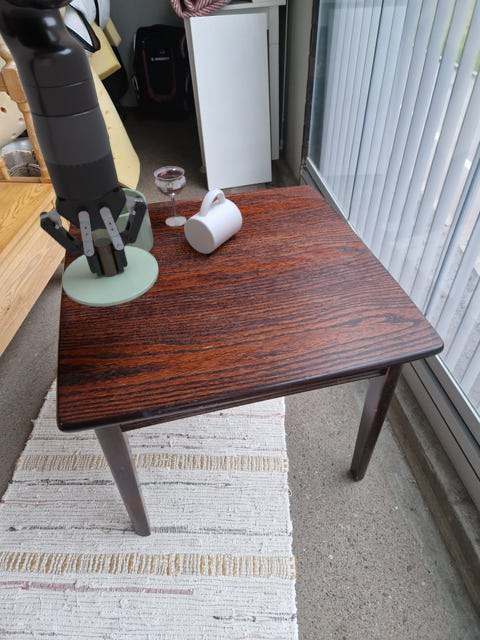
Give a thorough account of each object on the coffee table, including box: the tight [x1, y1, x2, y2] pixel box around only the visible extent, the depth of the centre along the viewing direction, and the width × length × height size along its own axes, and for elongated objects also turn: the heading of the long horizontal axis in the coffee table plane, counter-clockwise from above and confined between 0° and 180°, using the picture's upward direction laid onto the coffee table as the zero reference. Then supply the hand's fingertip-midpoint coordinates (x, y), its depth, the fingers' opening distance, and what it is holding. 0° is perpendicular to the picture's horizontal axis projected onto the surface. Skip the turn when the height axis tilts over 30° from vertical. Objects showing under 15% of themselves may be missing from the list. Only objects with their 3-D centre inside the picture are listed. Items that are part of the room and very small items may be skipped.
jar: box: [91, 187, 154, 253], centre depth 90 cm, size 12×12×10 cm
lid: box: [61, 238, 160, 307], centre depth 58 cm, size 13×13×6 cm
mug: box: [183, 188, 243, 255], centre depth 90 cm, size 8×10×12 cm
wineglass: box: [153, 165, 187, 227], centre depth 97 cm, size 7×7×12 cm
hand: (110, 270), depth 60 cm, fingers closed on lid, 2 cm apart
